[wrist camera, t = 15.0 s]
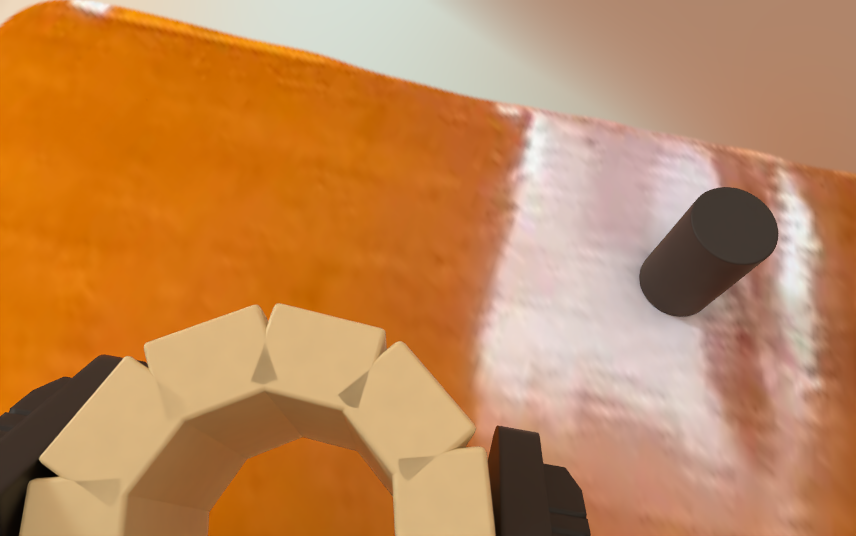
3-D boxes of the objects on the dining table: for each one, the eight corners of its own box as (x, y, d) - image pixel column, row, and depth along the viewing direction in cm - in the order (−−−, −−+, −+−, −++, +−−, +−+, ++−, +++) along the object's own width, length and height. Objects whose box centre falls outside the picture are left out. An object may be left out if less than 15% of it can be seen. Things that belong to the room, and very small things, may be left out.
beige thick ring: (332, 316, 13) (308, 229, 10) (536, 561, 12) (598, 566, 8) (69, 512, 12) (-79, 493, 8) (262, 835, 10) (184, 1000, 6)
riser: (671, 237, 37) (728, 171, 30) (725, 287, 35) (796, 229, 29) (624, 278, 35) (673, 219, 29) (679, 331, 34) (742, 281, 28)
